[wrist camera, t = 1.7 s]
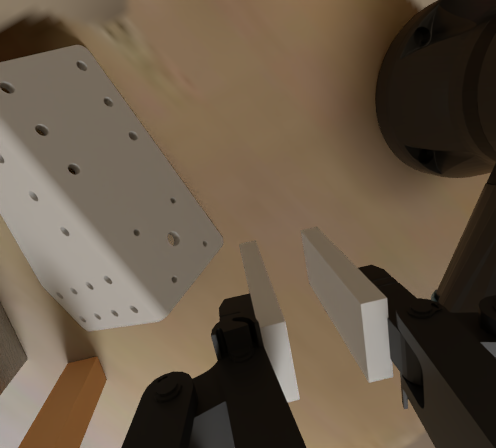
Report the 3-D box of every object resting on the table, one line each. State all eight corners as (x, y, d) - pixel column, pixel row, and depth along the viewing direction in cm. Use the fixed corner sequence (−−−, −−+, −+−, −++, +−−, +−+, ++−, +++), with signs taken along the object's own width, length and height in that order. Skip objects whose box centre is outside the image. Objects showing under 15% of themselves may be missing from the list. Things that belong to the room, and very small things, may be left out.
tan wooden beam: (97, 356, 35) (34, 486, 23) (106, 379, 36) (51, 517, 23) (67, 363, 35) (-11, 497, 22) (78, 386, 36) (7, 527, 23)
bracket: (-51, 73, 20) (163, 321, 26) (83, 43, 27) (225, 241, 33) (-81, 160, 28) (86, 331, 34) (28, 118, 35) (149, 266, 41)
